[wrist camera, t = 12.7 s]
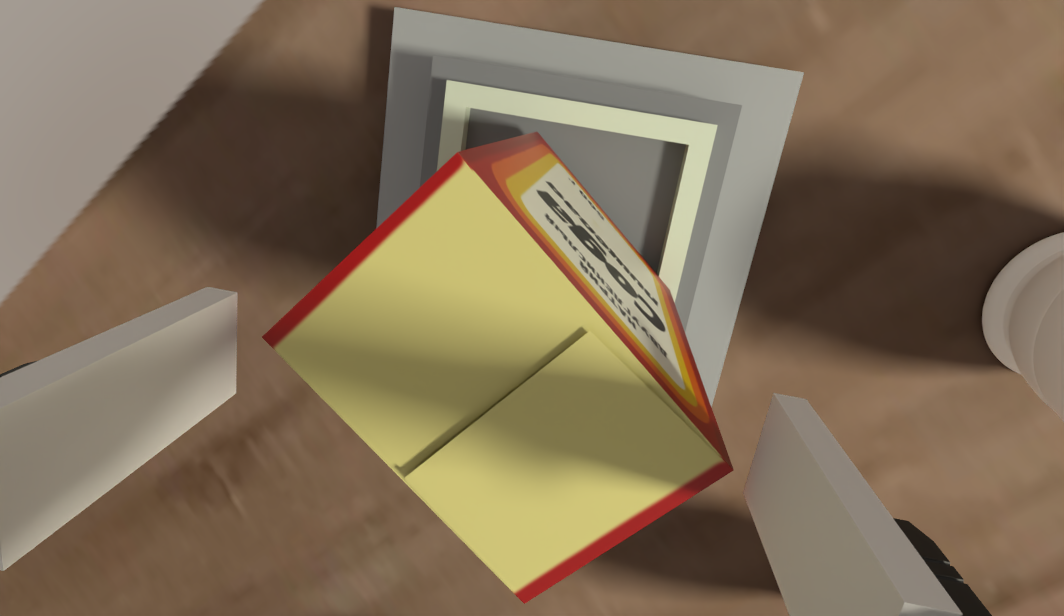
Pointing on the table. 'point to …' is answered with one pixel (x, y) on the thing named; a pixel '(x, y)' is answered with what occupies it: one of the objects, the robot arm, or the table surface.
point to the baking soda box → (512, 364)
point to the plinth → (626, 70)
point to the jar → (1031, 318)
